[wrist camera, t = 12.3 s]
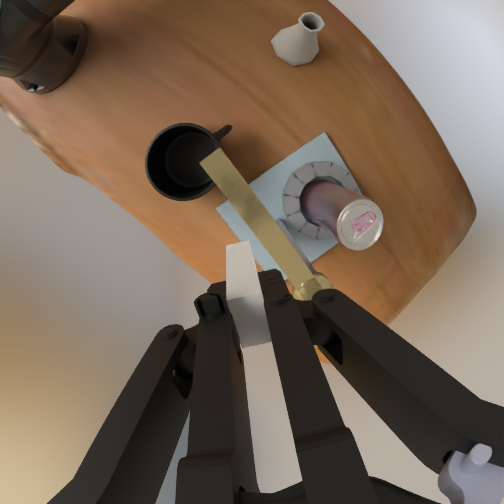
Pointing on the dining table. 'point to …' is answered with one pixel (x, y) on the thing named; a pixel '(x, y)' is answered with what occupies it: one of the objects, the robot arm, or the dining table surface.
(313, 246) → the seat board
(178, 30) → the dining table surface
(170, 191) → the mug
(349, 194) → the beverage can
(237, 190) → the lever
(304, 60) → the flask
